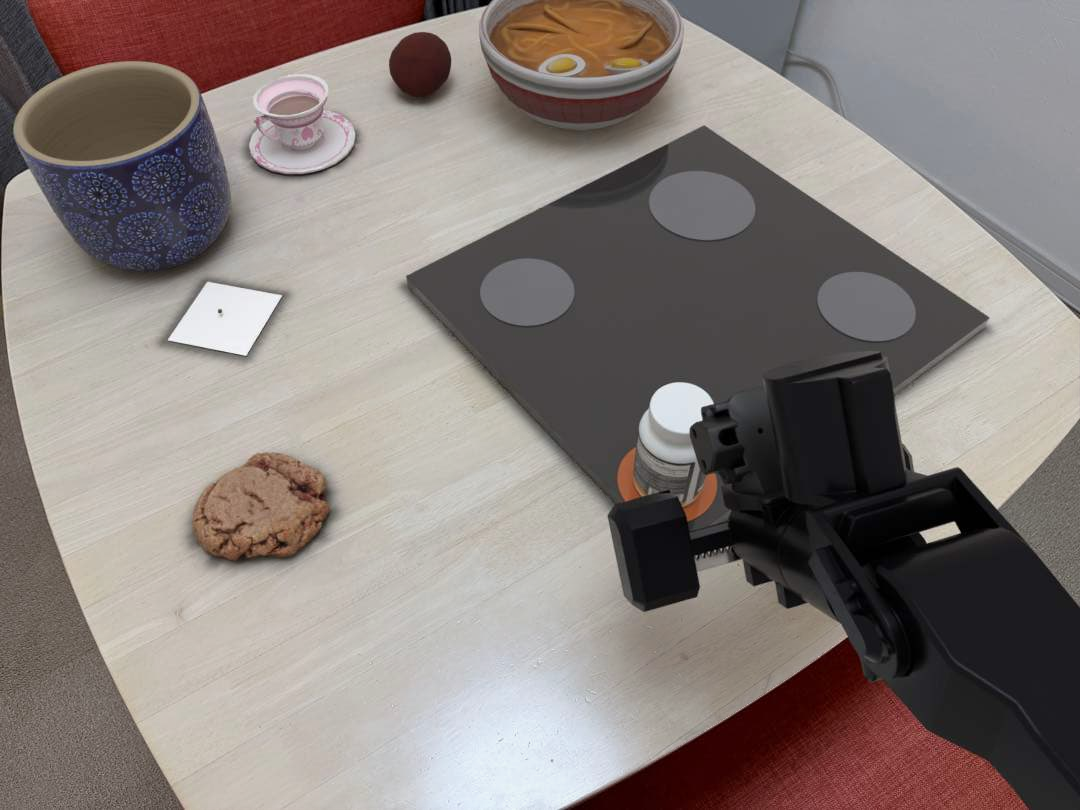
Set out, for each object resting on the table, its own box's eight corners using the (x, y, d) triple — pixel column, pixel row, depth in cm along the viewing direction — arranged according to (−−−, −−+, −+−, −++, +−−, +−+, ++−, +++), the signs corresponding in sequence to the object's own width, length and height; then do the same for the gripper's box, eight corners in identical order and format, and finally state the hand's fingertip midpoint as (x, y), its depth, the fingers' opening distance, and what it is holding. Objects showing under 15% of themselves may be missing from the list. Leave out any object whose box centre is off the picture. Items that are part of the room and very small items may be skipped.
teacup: (314, 100, 107) (302, 52, 102) (377, 142, 102) (369, 94, 97) (229, 144, 102) (213, 96, 97) (291, 191, 96) (278, 142, 92)
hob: (983, 328, 84) (990, 316, 82) (670, 561, 69) (672, 551, 67) (702, 136, 102) (704, 123, 101) (407, 286, 87) (405, 274, 86)
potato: (459, 70, 111) (455, 16, 105) (447, 109, 106) (441, 55, 100) (401, 66, 111) (394, 13, 106) (386, 105, 106) (377, 51, 101)
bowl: (631, 182, 97) (639, 101, 89) (448, 129, 103) (440, 49, 95) (700, 76, 110) (712, -3, 102) (533, 34, 116) (533, -44, 108)
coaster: (246, 355, 82) (243, 350, 81) (167, 340, 83) (164, 334, 82) (282, 295, 86) (280, 289, 86) (207, 281, 88) (205, 275, 87)
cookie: (178, 506, 72) (165, 486, 70) (296, 442, 76) (287, 421, 73) (230, 596, 67) (219, 578, 65) (353, 523, 71) (346, 503, 69)
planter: (219, 295, 87) (168, 170, 75) (54, 288, 87) (-23, 163, 76) (262, 186, 97) (223, 61, 85) (113, 181, 98) (54, 56, 86)
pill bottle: (669, 441, 74) (684, 363, 66) (718, 487, 71) (739, 412, 63) (617, 476, 72) (626, 400, 64) (665, 525, 69) (680, 452, 61)
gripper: (964, 361, 47) (816, 350, 62) (630, 444, 43) (560, 412, 59) (993, 561, 48) (841, 503, 63) (672, 656, 45) (594, 570, 60)
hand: (713, 493), depth 61 cm, fingers open, 9 cm apart
